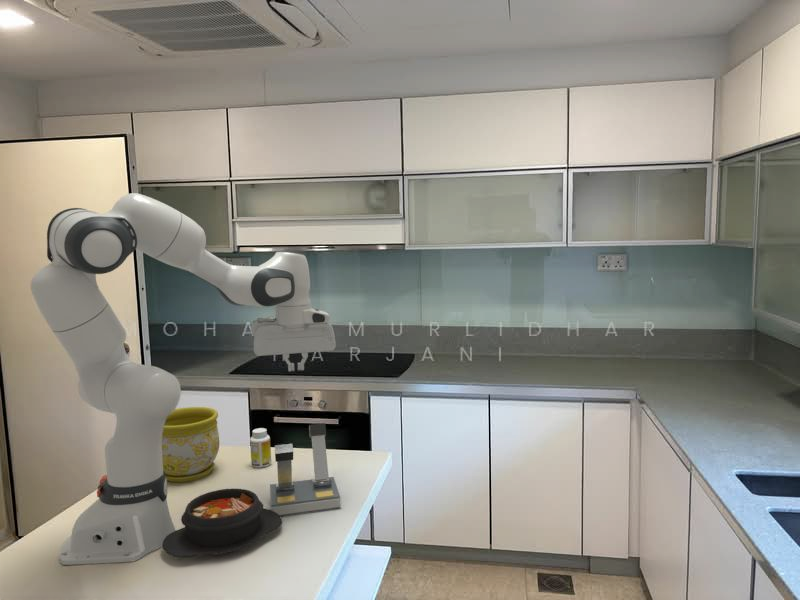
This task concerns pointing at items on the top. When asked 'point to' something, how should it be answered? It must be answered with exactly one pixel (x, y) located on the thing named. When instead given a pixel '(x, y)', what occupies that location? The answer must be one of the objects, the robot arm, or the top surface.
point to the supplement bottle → (260, 448)
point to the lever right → (319, 455)
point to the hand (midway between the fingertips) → (296, 370)
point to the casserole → (221, 524)
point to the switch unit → (305, 498)
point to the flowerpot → (189, 443)
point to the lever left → (284, 467)
